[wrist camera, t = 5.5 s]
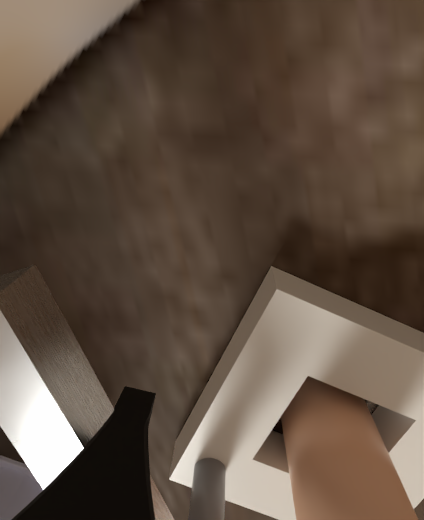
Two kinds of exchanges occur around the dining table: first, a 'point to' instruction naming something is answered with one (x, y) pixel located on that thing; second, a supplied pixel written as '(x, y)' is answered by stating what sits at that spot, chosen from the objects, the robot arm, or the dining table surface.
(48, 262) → the dining table surface
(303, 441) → the plug
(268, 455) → the socket block
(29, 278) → the grey long bar
